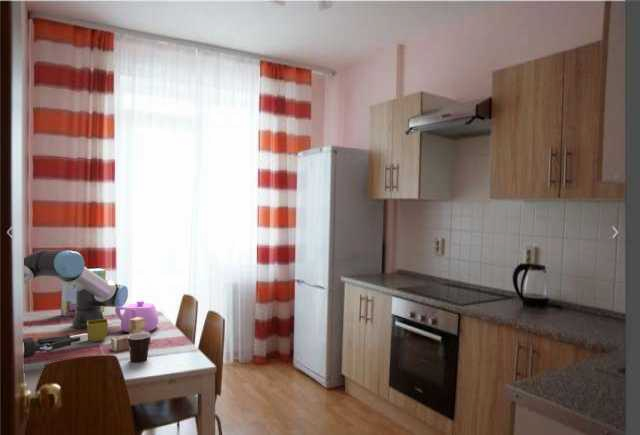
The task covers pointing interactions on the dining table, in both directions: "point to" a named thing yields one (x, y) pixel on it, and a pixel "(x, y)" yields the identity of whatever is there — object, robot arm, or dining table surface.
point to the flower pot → (97, 329)
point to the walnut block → (123, 341)
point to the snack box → (74, 295)
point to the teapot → (138, 315)
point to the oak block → (136, 325)
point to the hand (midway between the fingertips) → (87, 336)
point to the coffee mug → (138, 347)
